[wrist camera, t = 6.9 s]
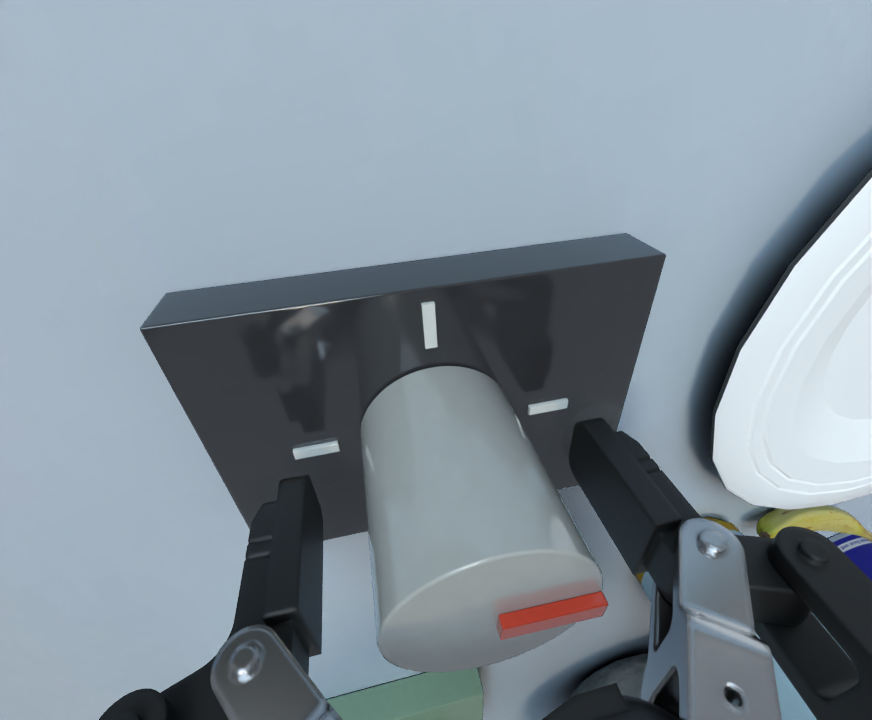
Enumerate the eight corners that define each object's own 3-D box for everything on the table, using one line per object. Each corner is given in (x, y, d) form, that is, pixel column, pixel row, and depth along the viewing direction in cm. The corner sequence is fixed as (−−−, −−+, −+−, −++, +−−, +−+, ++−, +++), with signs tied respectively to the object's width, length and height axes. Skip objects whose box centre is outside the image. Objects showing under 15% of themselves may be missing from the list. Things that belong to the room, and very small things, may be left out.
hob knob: (367, 488, 15) (386, 707, 10) (351, 375, 12) (367, 603, 7) (501, 465, 15) (584, 656, 10) (516, 356, 13) (641, 545, 8)
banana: (844, 489, 28) (911, 543, 25) (828, 505, 29) (890, 559, 26) (745, 504, 26) (803, 565, 23) (732, 521, 27) (786, 582, 24)
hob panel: (268, 509, 17) (262, 558, 15) (165, 292, 11) (135, 331, 10) (580, 445, 19) (605, 483, 17) (627, 232, 13) (671, 256, 12)
